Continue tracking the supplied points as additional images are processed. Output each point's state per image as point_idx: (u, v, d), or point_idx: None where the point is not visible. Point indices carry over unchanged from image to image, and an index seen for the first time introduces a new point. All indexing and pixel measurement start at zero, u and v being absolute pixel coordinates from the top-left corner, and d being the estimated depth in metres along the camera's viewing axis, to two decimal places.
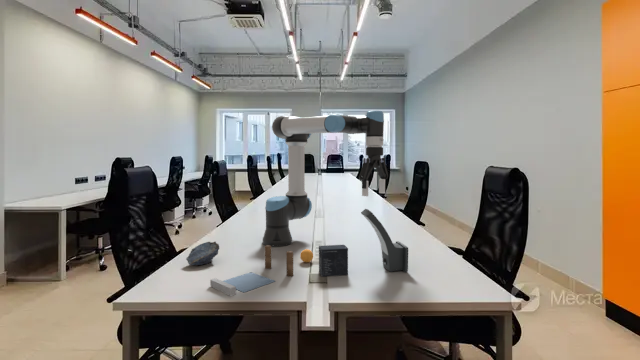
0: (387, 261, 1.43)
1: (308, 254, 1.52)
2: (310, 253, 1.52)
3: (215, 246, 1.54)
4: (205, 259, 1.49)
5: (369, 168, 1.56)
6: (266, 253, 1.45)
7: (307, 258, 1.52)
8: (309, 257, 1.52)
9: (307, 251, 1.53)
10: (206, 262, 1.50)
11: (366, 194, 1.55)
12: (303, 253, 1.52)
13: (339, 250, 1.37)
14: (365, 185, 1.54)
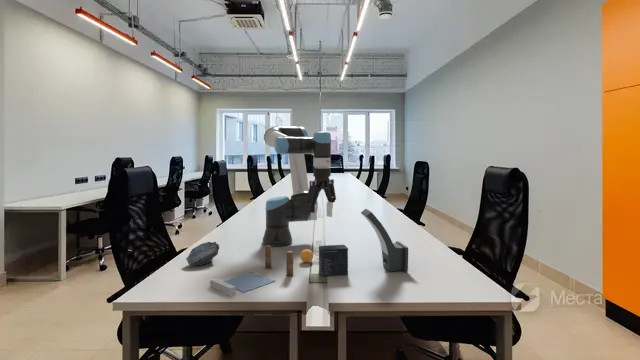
0: (387, 261, 1.43)
1: (308, 254, 1.52)
2: (310, 253, 1.52)
3: (215, 246, 1.54)
4: (205, 259, 1.49)
5: (316, 191, 1.56)
6: (266, 253, 1.45)
7: (307, 258, 1.52)
8: (309, 257, 1.52)
9: (307, 251, 1.53)
10: (206, 262, 1.50)
11: (314, 218, 1.55)
12: (303, 253, 1.52)
13: (339, 250, 1.37)
14: (313, 209, 1.54)
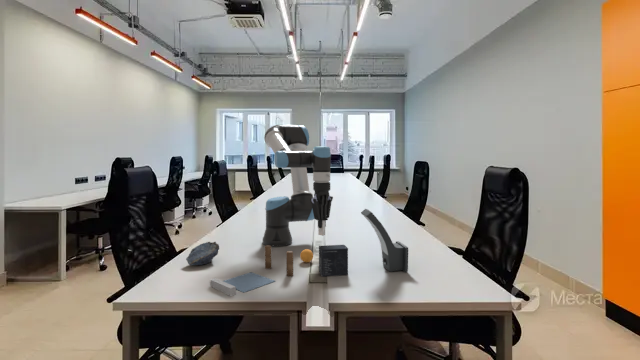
0: (387, 261, 1.43)
1: (308, 254, 1.52)
2: (310, 253, 1.52)
3: (215, 246, 1.54)
4: (205, 259, 1.49)
5: (319, 206, 1.58)
6: (266, 253, 1.45)
7: (307, 258, 1.52)
8: (309, 257, 1.52)
9: (307, 251, 1.53)
10: (206, 262, 1.50)
11: (322, 233, 1.59)
12: (303, 253, 1.52)
13: (339, 250, 1.37)
14: (321, 225, 1.58)
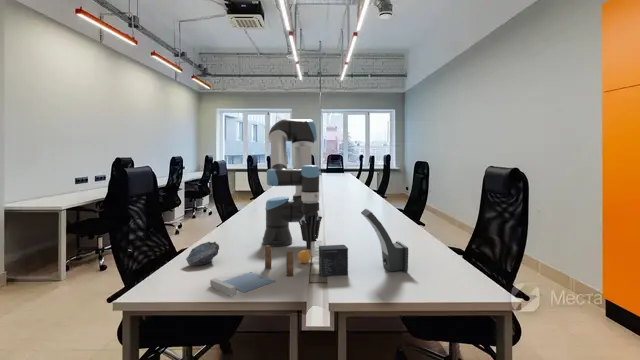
0: (387, 261, 1.43)
1: (305, 257, 1.50)
2: (307, 254, 1.51)
3: (215, 246, 1.54)
4: (205, 259, 1.48)
5: (308, 227, 1.53)
6: (266, 253, 1.45)
7: (305, 260, 1.50)
8: (307, 259, 1.51)
9: (303, 253, 1.51)
10: (206, 262, 1.50)
11: (311, 255, 1.54)
12: (300, 256, 1.51)
13: (339, 250, 1.37)
14: (309, 246, 1.53)
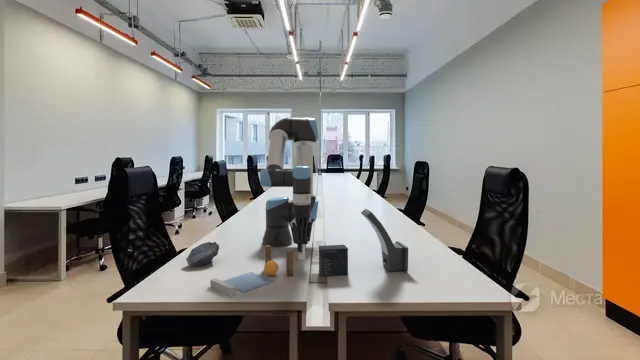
0: (387, 261, 1.43)
1: (271, 270, 1.36)
2: (273, 267, 1.36)
3: (215, 246, 1.53)
4: (205, 259, 1.48)
5: (299, 230, 1.49)
6: (266, 253, 1.45)
7: (273, 273, 1.36)
8: (274, 271, 1.36)
9: (269, 267, 1.36)
10: (206, 262, 1.50)
11: (302, 258, 1.51)
12: (266, 271, 1.36)
13: (339, 250, 1.37)
14: (300, 249, 1.50)
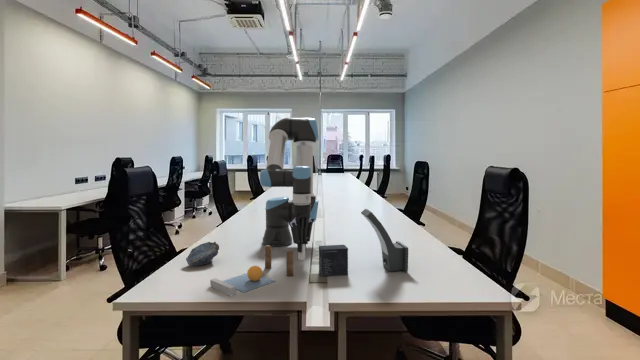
0: (387, 261, 1.43)
1: (262, 273, 1.32)
2: (261, 276, 1.32)
3: (215, 246, 1.53)
4: (205, 259, 1.48)
5: (299, 230, 1.49)
6: (266, 253, 1.45)
7: (261, 270, 1.32)
8: (261, 272, 1.31)
9: None
10: (206, 262, 1.50)
11: (302, 258, 1.51)
12: None
13: (339, 250, 1.37)
14: (300, 249, 1.50)
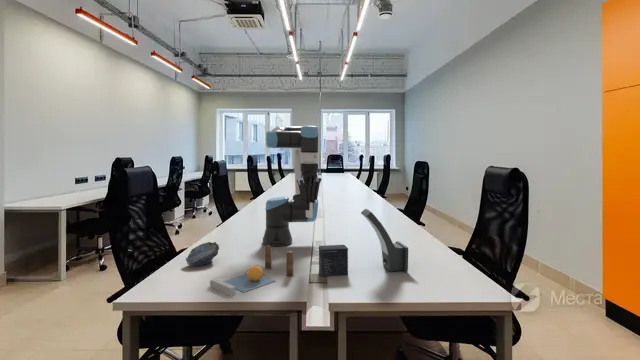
0: (387, 261, 1.43)
1: (262, 273, 1.32)
2: (261, 276, 1.32)
3: (215, 246, 1.53)
4: (205, 259, 1.48)
5: (307, 188, 1.53)
6: (266, 253, 1.45)
7: (261, 270, 1.32)
8: (261, 272, 1.31)
9: None
10: (206, 262, 1.50)
11: (309, 216, 1.55)
12: None
13: (339, 250, 1.37)
14: (308, 207, 1.54)
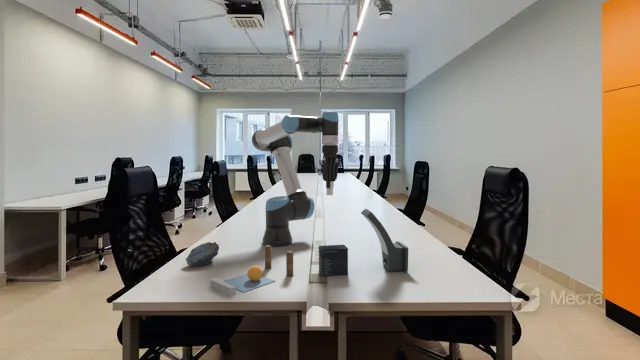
0: (387, 261, 1.43)
1: (262, 273, 1.32)
2: (261, 276, 1.32)
3: (215, 246, 1.53)
4: (205, 260, 1.48)
5: (328, 168, 1.68)
6: (266, 253, 1.45)
7: (261, 270, 1.32)
8: (261, 272, 1.31)
9: None
10: (205, 263, 1.50)
11: (330, 193, 1.70)
12: None
13: (339, 250, 1.37)
14: (329, 185, 1.69)
